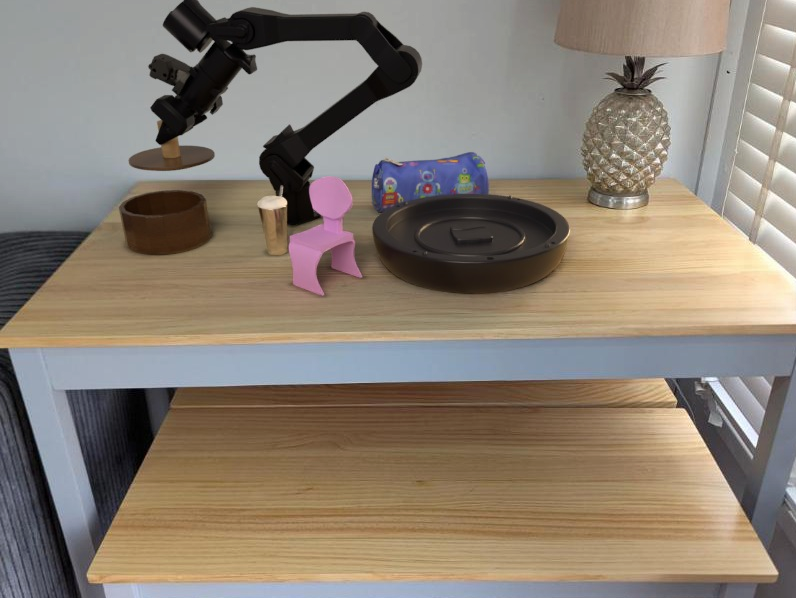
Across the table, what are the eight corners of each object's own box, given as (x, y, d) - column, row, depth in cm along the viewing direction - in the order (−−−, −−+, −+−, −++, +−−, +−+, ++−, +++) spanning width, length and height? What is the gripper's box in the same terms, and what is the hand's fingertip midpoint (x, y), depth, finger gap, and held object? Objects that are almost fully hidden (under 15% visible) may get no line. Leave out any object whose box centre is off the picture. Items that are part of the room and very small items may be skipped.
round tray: (363, 231, 132) (387, 307, 106) (362, 197, 129) (386, 266, 103) (533, 219, 136) (596, 289, 110) (535, 185, 133) (600, 250, 107)
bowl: (216, 224, 136) (210, 188, 133) (203, 253, 125) (197, 215, 121) (137, 227, 136) (130, 191, 133) (117, 256, 124) (109, 218, 121)
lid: (232, 156, 138) (227, 116, 135) (174, 178, 127) (167, 134, 124) (171, 148, 145) (164, 109, 141) (111, 168, 134) (102, 126, 130)
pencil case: (375, 220, 137) (373, 166, 132) (366, 204, 144) (363, 153, 139) (493, 208, 141) (495, 156, 137) (478, 194, 149) (480, 144, 144)
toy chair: (285, 284, 114) (275, 183, 106) (328, 265, 119) (321, 169, 112) (325, 299, 109) (318, 195, 101) (367, 279, 115) (363, 179, 107)
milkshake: (299, 247, 126) (294, 187, 121) (281, 258, 122) (275, 197, 117) (276, 243, 128) (269, 183, 123) (257, 254, 124) (250, 193, 119)
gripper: (195, 29, 133) (146, 95, 140) (151, 44, 117) (98, 118, 124) (245, 77, 137) (194, 139, 143) (209, 98, 120) (154, 168, 127)
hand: (161, 140), depth 134 cm, fingers closed on lid, 3 cm apart
